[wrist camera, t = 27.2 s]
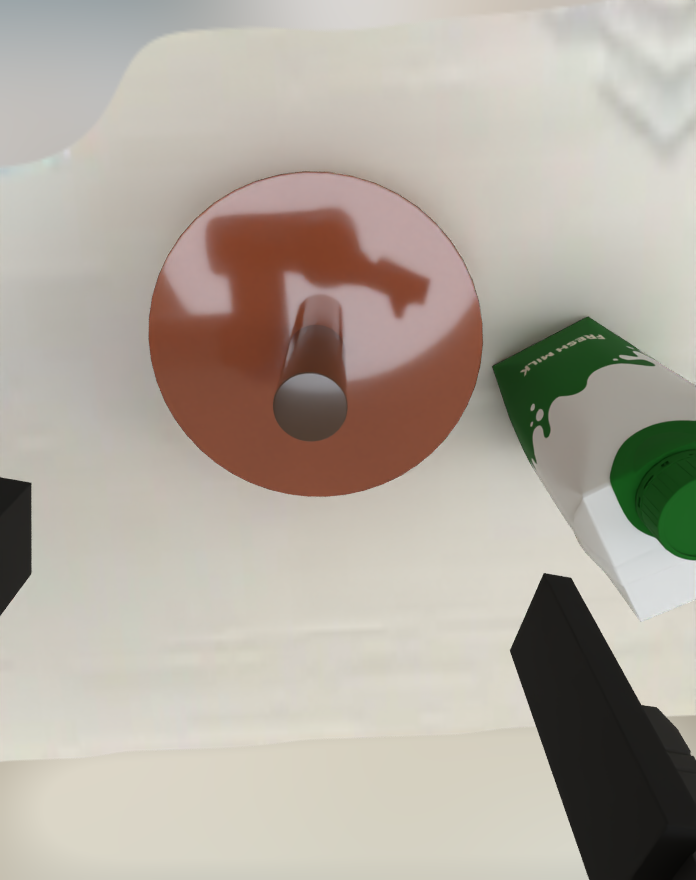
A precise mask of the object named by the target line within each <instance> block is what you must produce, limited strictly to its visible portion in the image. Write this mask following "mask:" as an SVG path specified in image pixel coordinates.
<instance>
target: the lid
mask: <svg viewBox="0 0 696 880" xmlns="http://www.w3.org/2000/svg"><path fill="white" fill-rule="evenodd" d="M149 346H150V355H151V362H152V366H153V369H154V373H155V377H156V381H157V383H158V386H159V388H160V391H161V393H162V396H163V398H164V401H165V403H166V404H167V406H168V408H169V410H170V411H171V413H172V415H173V417H174V419H175V420H176V421H177V423H178V424H179V425H180V427H181V428H182V430H183V431H184V432H185V434H186V435H187V436H188V437H189V438H190V439H191V440H192V441H193V442H194V444H195V445H196V446H197V447H198V448H199V449H200V450H201V451H202V452H204V453H205V454H206V455H207V456H208V457H210V458H211V459H212V460H213V461H214V462H216V463H217V464H218V465H220V466H222V467H223V468H225V469H226V470H228V471H229V472H231V473H232V474H234V475H236V476H238V477H240V478H242V479H244V480H246V481H248V482H250V483H253V484H255V485H258V486H261V487H264V488H266V489H269V490H273V491H278V492H282V493H286V494H292V495H300V496H319V497H327V496H337V495H346V494H351V493H355V492H360V491H364V490H367V489H370V488H373V487H376V486H379V485H382V484H384V483H386V482H389V481H391V480H393V479H395V478H397V477H399V476H401V475H402V474H404V473H406V472H407V471H409V470H410V469H412V468H413V467H415V466H417V465H418V464H419V463H420V462H422V461H423V460H424V459H425V458H426V457H428V456H429V455H430V454H431V453H432V452H433V451H434V450H435V449H436V448H437V447H438V446H439V445H440V444H441V443H442V442H443V441H444V440H445V439H446V438H447V436H448V435H449V433H450V432H451V431H452V429H453V428H454V427H455V425H456V424H457V423H458V421H459V419H460V417H461V416H462V414H463V412H464V410H465V408H466V407H467V405H468V402H469V400H470V397H471V395H472V392H473V390H474V387H475V384H476V380H477V376H478V373H479V369H480V363H481V355H482V346H483V335H482V318H481V312H480V305H479V300H478V297H477V294H476V290H475V287H474V284H473V280H472V278H471V276H470V274H469V272H468V269H467V267H466V265H465V263H464V261H463V259H462V257H461V256H460V254H459V253H458V251H457V249H456V248H455V246H454V245H453V243H452V242H451V240H450V239H449V238H448V237H447V236H446V234H445V233H444V232H443V231H442V230H441V228H440V227H439V226H438V225H437V224H436V223H435V222H434V221H433V220H432V219H431V218H430V217H429V216H427V215H426V214H425V213H424V212H423V211H422V210H421V209H420V208H418V207H417V206H416V205H414V204H413V203H411V202H410V201H408V200H407V199H405V198H404V197H402V196H401V195H399V194H397V193H395V192H393V191H391V190H389V189H387V188H385V187H383V186H381V185H379V184H377V183H374V182H371V181H368V180H365V179H361V178H358V177H355V176H351V175H345V174H339V173H333V172H316V171H302V172H294V173H286V174H279V175H276V176H272V177H268V178H265V179H261V180H257V181H255V182H252V183H250V184H248V185H245V186H243V187H241V188H239V189H236V190H234V191H232V192H231V193H229V194H228V195H226V196H224V197H223V198H221V199H220V200H218V201H216V202H215V203H213V204H212V205H211V206H210V207H209V208H207V209H206V210H205V211H204V212H203V213H201V214H200V215H199V216H198V217H197V218H196V219H195V220H194V221H193V222H192V223H191V224H190V225H189V227H188V228H187V229H186V230H185V231H184V232H183V233H182V235H181V236H180V237H179V239H178V240H177V242H176V243H175V245H174V246H173V248H172V250H171V251H170V253H169V254H168V256H167V258H166V260H165V262H164V265H163V267H162V269H161V271H160V273H159V276H158V279H157V282H156V286H155V289H154V292H153V296H152V301H151V308H150V314H149Z"/></svg>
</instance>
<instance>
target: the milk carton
mask: <svg viewBox="0 0 696 880" xmlns="http://www.w3.org/2000/svg"><path fill="white" fill-rule="evenodd" d="M492 367H493V370H494V373H495V376H496V379H497V382H498V385H499V388H500V391H501V394H502V397H503V400H504V403H505V406H506V409H507V412H508V415H509V418H510V420H511V423H512V425H513V427H514V430H515V432H516V435H517V437H518V439H519V441H520V443H521V446H522V448H523V450H524V452H525V454H526V456H527V458H528V460H529V462H530V464H531V466H532V467H533V469H534V470H535V472H536V474H537V475H538V477H539V478H540V480H541V482H542V483H543V485H544V486H545V488H546V490H547V491H548V493H549V494H550V496H551V498H552V499H553V501H554V502H555V504H556V505H557V507H558V509H559V510H560V512H561V513H562V515H563V517H564V518H565V520H566V521H567V523H568V524H569V525H570V527H571V528H572V530H573V531H574V534H575V536H576V538H577V540H578V542H579V544H580V546H581V547H582V548H583V550H584V551H585V552H586V553H587V555H588V556H589V557H590V558H591V559H592V560H593V561H594V562H595V563H596V564H597V565H598V566H599V567H600V568H601V569H602V570H603V571H604V572H605V574H606V575H607V576H608V577H609V579H610V580H611V581H612V583H613V584H614V586H615V587H616V588H617V590H618V591H619V592H620V594H621V595H622V597H623V598H624V599H625V601H626V602H627V604H628V605H629V607H630V608H631V609H632V611H633V612H634V614H635V615H636V616H637V618H638V619H639V621H644V620H647V619H649V618H652V617H654V616H657V615H659V614H662V613H664V612H667V611H669V610H671V609H674V608H676V607H679V606H681V605H684V604H686V603H689V602H691V601H693V600H696V385H694V384H692V383H691V382H689V381H688V380H686V379H684V378H683V377H681V376H680V375H678V374H677V373H675V372H673V371H672V370H670V369H669V368H667V367H666V366H664V365H662V364H661V363H659V362H658V361H656V360H655V359H653V358H651V357H650V356H648V355H647V354H645V353H643V352H642V351H640V350H639V349H637V348H636V347H634V346H633V345H631V344H630V343H628V342H627V341H625V340H624V339H622V338H621V337H619V336H617V335H616V334H614V333H613V332H611V331H610V330H608V329H606V328H605V327H603V326H602V325H600V324H599V323H597V322H596V321H594V320H593V319H591V318H590V317H586V318H584V319H582V320H580V321H578V322H576V323H575V324H573V325H571V326H569V327H567V328H565V329H563V330H561V331H559V332H557V333H555V334H553V335H552V336H550V337H548V338H546V339H544V340H542V341H540V342H538V343H536V344H534V345H532V346H530V347H529V348H527V349H525V350H523V351H521V352H519V353H517V354H515V355H513V356H511V357H509V358H507V359H505V360H504V361H502V362H500V363H498V364H496V365H494V366H492Z"/></svg>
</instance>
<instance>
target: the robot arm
mask: <svg viewBox="0 0 696 880" xmlns="http://www.w3.org/2000/svg"><path fill="white" fill-rule="evenodd" d="M30 575H31V483H29V482H23V481H18V480H12V479H6V478H1V477H0V615H1V614H2V613H3V611H4V610H5V609H6V607H7V606H8V605H9V603H10V602H11V601H12V599H13V598H14V597H15V595H16V594H17V592H18V591H19V590H20V588H21V587H22V586H23V584H24V583H25V582H26V580H27V579H28V578H29V576H30ZM510 652H511V655H512V658H513V661H514V664H515V667H516V670H517V673H518V675H519V678H520V681H521V684H522V687H523V690H524V693H525V696H526V699H527V701H528V704H529V707H530V710H531V713H532V716H533V719H534V722H535V725H536V727H537V730H538V733H539V736H540V739H541V742H542V745H543V747H544V750H545V753H546V756H547V759H548V762H549V765H550V768H551V771H552V774H553V776H554V779H555V782H556V785H557V788H558V791H559V794H560V797H561V799H562V802H563V805H564V808H565V811H566V814H567V816H568V820H569V822H570V826H571V828H572V831H573V834H574V837H575V840H576V843H577V846H578V848H579V851H580V854H581V857H582V860H583V863H584V866H585V869H586V872H587V875H588V877H589V880H696V760H695V758H694V756H691V755H690V750H689V748H688V746H687V744H686V743H685V741H684V739H683V738H682V736H681V734H680V733H679V731H678V729H677V728H676V727H675V726H674V725H673V724H672V723H671V722H670V721H669V720H668V719H667V718H666V717H665V715H664V714H663V713H662V712H661V711H660V710H659V709H658V708H657V707H651V706H644V705H641V704H640V702H639V700H638V698H637V696H636V695H635V693H634V691H633V689H632V687H631V685H630V684H629V682H628V680H627V678H626V676H625V675H624V673H623V671H622V669H621V667H620V666H619V664H618V662H617V660H616V658H615V657H614V655H613V653H612V651H611V649H610V647H609V646H608V644H607V642H606V640H605V638H604V637H603V635H602V633H601V631H600V629H599V628H598V626H597V624H596V622H595V620H594V619H593V617H592V615H591V613H590V611H589V609H588V608H587V606H586V604H585V602H584V600H583V599H582V597H581V595H580V593H579V591H578V590H577V588H576V586H575V584H574V582H573V580H572V579H571V578H569V577H563V576H557V575H552V574H546V573H544V574H543V576H542V579H541V581H540V583H539V585H538V588H537V590H536V592H535V595H534V597H533V599H532V601H531V604H530V606H529V608H528V611H527V613H526V615H525V617H524V620H523V622H522V624H521V627H520V629H519V631H518V633H517V636H516V638H515V640H514V643H513V645H512V647H511V649H510Z"/></svg>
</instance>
